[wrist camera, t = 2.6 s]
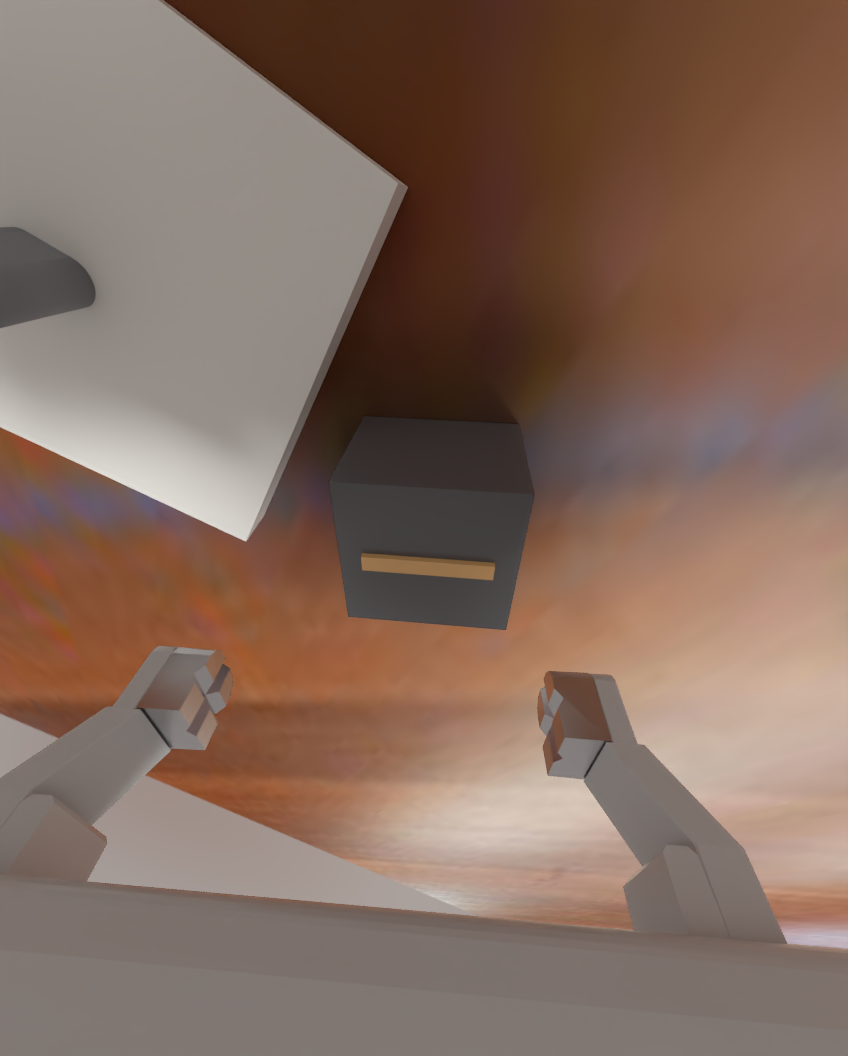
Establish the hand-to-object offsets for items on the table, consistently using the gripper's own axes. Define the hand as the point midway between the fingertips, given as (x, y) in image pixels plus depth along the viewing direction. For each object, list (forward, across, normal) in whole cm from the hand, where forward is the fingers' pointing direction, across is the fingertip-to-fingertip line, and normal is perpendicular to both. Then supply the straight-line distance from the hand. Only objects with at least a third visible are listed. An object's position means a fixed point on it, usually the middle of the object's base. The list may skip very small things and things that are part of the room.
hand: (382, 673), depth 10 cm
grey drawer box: (+9, -1, 0) cm, 9 cm away
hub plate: (+10, +11, -8) cm, 16 cm away
